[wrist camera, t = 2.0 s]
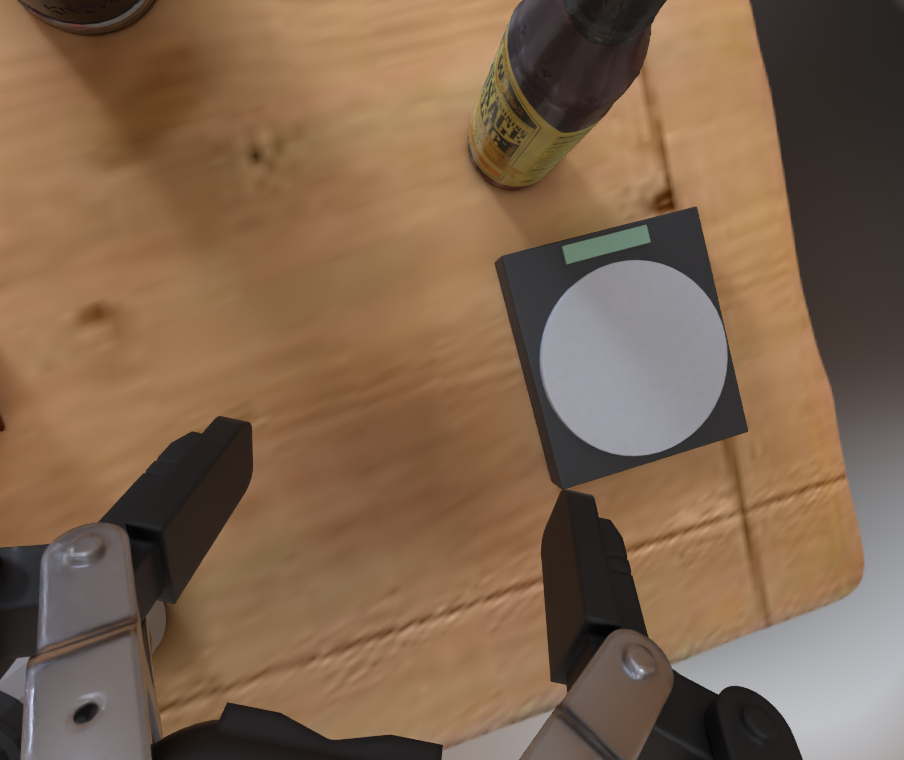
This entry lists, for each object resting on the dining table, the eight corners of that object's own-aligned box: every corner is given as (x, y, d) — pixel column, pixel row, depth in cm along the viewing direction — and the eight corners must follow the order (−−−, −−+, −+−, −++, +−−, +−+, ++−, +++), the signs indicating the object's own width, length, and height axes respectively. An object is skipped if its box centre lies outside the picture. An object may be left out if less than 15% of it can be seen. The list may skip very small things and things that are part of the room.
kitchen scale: (494, 262, 34) (503, 254, 32) (678, 215, 36) (702, 203, 33) (551, 482, 36) (565, 492, 33) (727, 427, 37) (755, 433, 34)
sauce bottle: (458, 106, 34) (555, -251, 14) (547, 99, 34) (759, -249, 15) (471, 204, 34) (582, -8, 14) (559, 195, 35) (780, -18, 15)
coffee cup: (61, 544, 32) (-230, 707, 17) (197, 563, 33) (37, 733, 18) (36, 671, 32) (-273, 945, 17) (173, 686, 33) (-6, 956, 18)
